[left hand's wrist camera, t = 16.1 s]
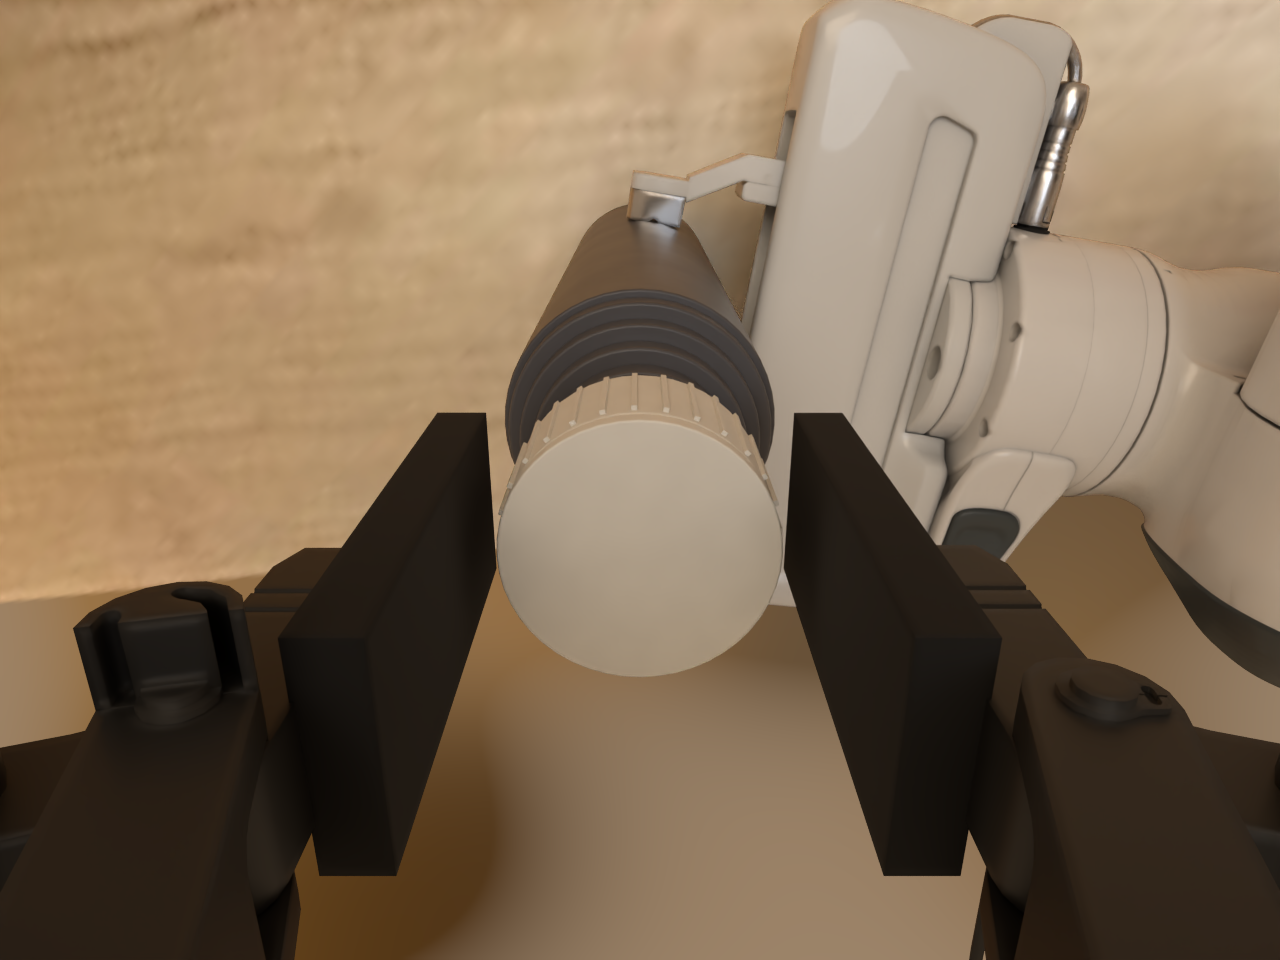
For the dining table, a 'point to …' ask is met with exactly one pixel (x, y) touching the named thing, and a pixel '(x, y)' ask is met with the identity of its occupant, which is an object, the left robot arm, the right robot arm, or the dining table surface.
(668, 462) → the cap
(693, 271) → the bottle
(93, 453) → the dining table surface
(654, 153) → the dining table surface
